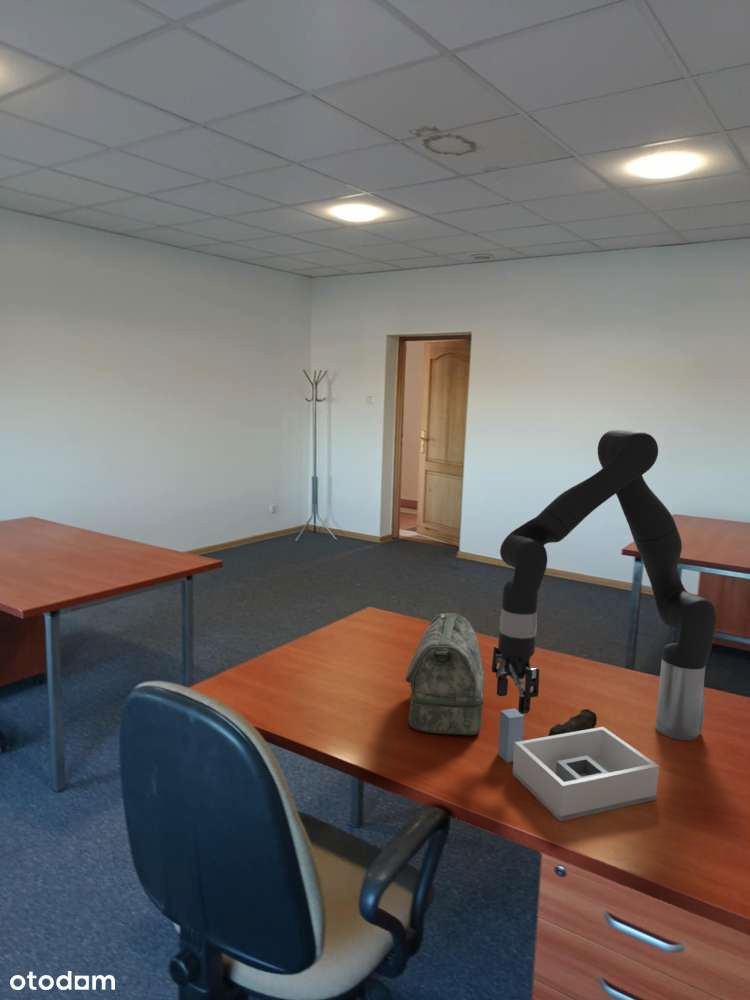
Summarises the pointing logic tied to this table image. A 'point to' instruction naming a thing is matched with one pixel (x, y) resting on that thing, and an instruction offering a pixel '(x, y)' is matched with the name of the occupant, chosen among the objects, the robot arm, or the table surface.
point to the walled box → (584, 772)
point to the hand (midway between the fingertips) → (512, 703)
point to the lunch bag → (447, 678)
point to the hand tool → (575, 723)
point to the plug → (510, 733)
